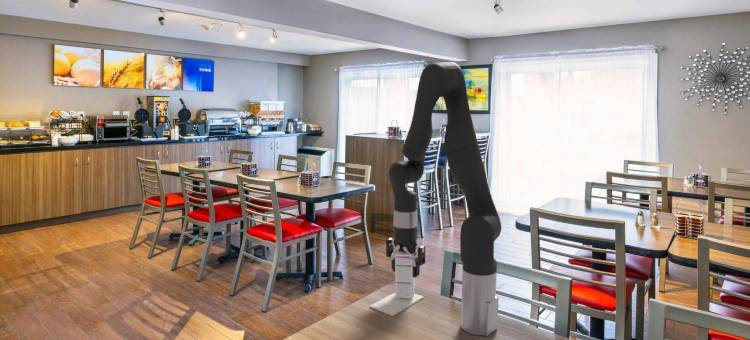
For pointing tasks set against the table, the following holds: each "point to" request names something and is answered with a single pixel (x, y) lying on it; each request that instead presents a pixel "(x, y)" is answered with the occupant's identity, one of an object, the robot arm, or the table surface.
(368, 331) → the table surface
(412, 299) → the mat
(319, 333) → the table surface
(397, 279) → the syrup box
